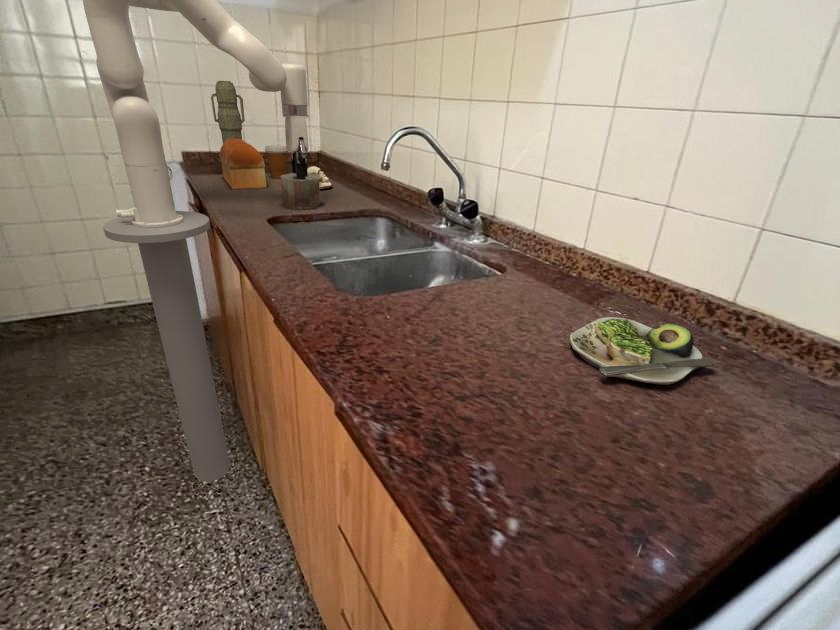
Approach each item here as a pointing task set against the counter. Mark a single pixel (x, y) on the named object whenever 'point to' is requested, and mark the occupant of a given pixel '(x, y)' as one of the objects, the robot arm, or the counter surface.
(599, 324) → the avocado toast plate
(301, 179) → the lid
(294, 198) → the pot
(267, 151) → the disposable coffee cup
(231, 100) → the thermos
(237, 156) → the bread
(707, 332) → the counter surface
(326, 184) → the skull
